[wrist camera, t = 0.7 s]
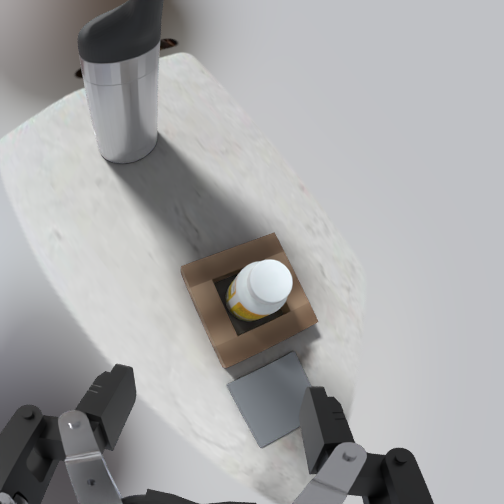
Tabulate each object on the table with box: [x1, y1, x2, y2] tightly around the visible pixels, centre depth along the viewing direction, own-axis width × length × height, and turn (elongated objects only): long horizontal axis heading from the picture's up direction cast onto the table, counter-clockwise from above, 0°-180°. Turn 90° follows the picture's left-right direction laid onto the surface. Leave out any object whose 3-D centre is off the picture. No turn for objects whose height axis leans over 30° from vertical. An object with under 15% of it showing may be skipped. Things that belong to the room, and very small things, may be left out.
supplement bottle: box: [225, 260, 293, 322], centre depth 30 cm, size 5×5×10 cm
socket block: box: [181, 232, 318, 368], centre depth 33 cm, size 12×12×2 cm
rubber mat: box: [226, 351, 312, 448], centre depth 31 cm, size 9×9×1 cm
